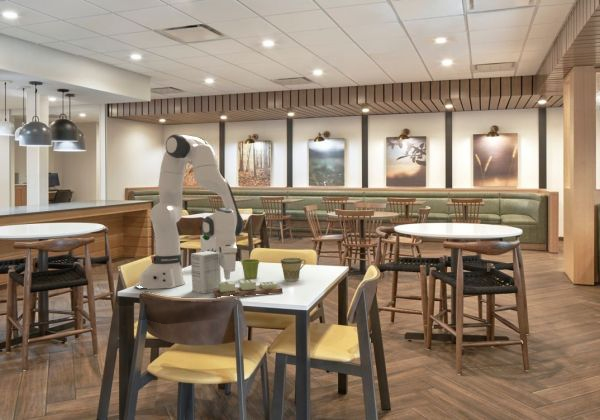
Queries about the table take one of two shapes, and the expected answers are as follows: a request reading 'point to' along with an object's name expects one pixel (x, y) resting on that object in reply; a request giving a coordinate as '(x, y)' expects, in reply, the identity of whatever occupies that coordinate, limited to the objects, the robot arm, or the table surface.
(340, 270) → the table surface
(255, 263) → the plant pot
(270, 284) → the tile three
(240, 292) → the frame
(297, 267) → the ceramic cup
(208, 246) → the milk carton
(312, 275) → the table surface
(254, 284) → the tile two
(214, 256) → the supplement box
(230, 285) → the tile one
